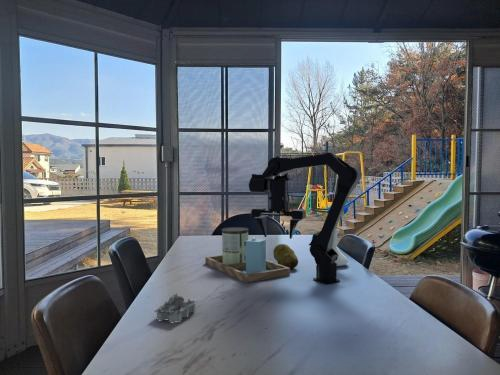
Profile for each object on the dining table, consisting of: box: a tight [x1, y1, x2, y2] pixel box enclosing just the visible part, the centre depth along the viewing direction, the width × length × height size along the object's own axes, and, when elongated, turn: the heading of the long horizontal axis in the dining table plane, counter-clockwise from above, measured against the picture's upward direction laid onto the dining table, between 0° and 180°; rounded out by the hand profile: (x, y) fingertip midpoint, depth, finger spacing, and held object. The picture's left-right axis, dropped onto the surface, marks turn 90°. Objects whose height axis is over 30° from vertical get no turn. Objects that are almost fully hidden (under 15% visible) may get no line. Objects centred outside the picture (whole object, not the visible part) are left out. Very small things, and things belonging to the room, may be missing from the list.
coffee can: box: [221, 226, 249, 265], centre depth 152 cm, size 10×10×14 cm
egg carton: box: [154, 293, 198, 322], centre depth 99 cm, size 11×8×4 cm
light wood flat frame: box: [204, 254, 291, 284], centre depth 145 cm, size 31×18×2 cm, turn 32°
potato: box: [272, 243, 299, 270], centre depth 149 cm, size 8×13×8 cm, turn 5°
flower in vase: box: [332, 211, 349, 267], centre depth 152 cm, size 13×11×25 cm
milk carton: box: [245, 237, 267, 274], centre depth 139 cm, size 6×6×13 cm
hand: (278, 237), depth 137 cm, fingers open, 9 cm apart
